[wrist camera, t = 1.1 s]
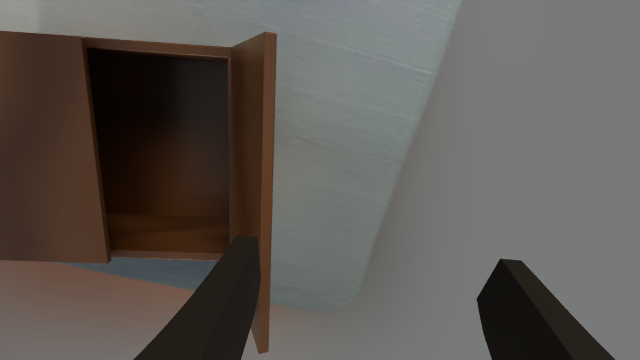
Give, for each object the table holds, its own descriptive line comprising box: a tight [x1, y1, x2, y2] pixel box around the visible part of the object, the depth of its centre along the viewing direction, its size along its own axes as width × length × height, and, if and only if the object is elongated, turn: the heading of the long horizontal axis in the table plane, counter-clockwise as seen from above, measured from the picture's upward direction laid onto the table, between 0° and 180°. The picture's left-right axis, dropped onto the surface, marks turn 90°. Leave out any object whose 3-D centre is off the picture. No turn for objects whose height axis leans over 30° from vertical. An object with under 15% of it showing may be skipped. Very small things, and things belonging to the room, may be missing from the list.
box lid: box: [231, 32, 277, 354], centre depth 15 cm, size 7×12×1 cm
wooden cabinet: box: [0, 31, 232, 264], centre depth 21 cm, size 14×12×7 cm
